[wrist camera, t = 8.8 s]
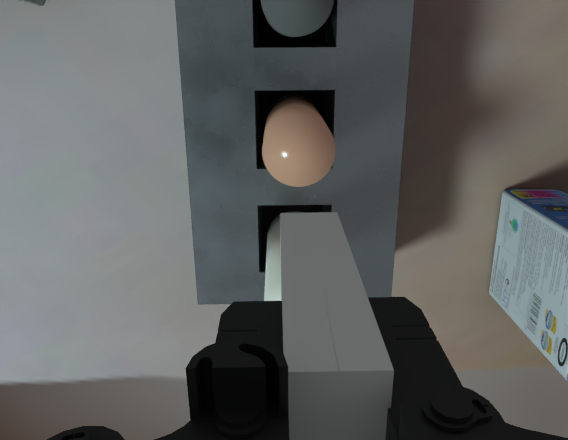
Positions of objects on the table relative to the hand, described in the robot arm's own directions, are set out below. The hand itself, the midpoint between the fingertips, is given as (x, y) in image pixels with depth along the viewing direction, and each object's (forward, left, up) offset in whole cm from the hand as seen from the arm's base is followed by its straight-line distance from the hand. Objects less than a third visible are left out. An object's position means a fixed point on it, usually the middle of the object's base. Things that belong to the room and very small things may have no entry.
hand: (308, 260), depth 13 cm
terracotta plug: (0, 0, -22) cm, 23 cm away
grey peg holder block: (0, 0, -26) cm, 26 cm away
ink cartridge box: (+20, -11, -27) cm, 35 cm away
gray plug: (0, +8, -25) cm, 26 cm away
